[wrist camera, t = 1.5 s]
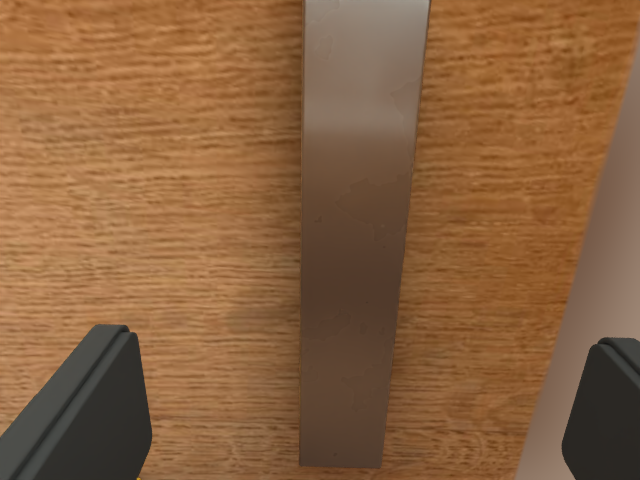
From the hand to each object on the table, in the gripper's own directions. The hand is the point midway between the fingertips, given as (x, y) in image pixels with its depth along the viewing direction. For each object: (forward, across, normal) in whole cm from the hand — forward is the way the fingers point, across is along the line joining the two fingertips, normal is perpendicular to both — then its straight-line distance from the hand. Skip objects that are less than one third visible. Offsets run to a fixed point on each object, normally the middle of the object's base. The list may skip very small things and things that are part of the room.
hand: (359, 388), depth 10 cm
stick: (+7, 0, -1) cm, 7 cm away
